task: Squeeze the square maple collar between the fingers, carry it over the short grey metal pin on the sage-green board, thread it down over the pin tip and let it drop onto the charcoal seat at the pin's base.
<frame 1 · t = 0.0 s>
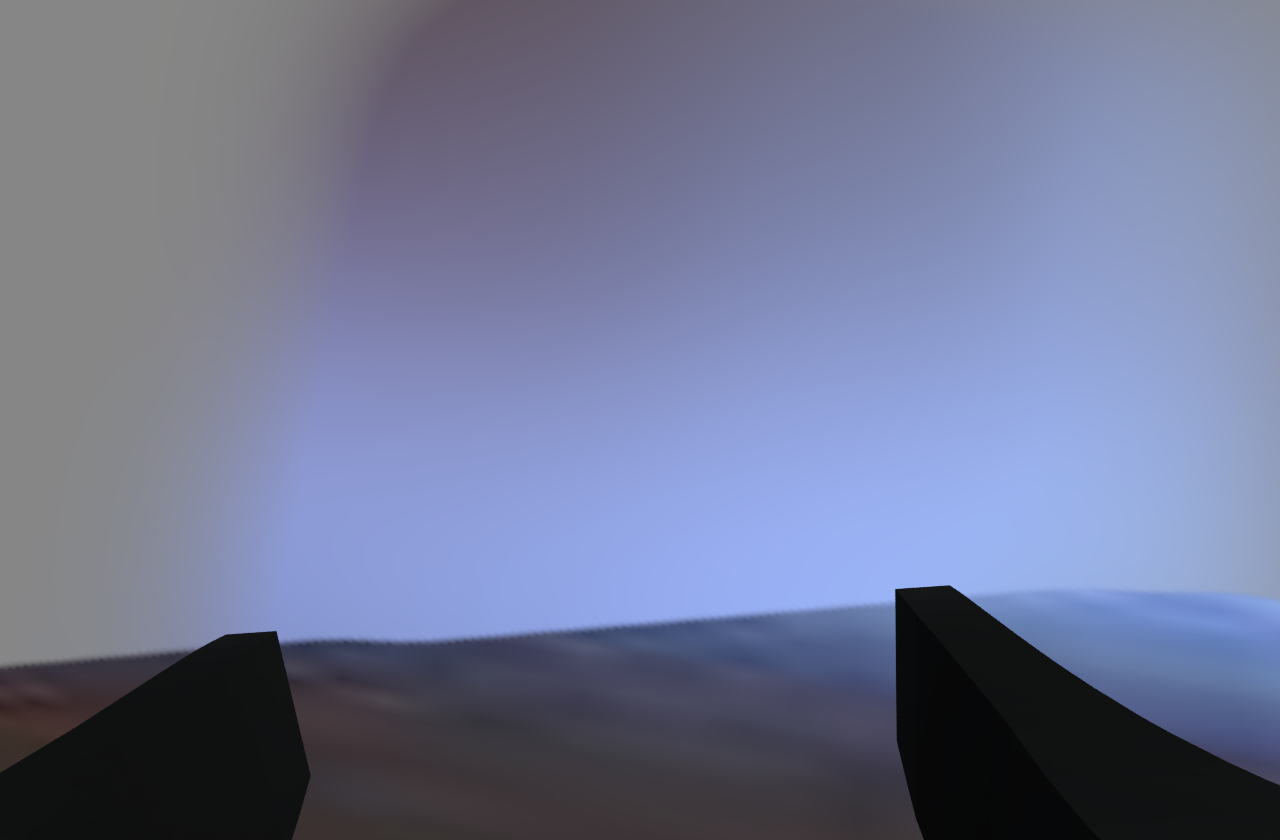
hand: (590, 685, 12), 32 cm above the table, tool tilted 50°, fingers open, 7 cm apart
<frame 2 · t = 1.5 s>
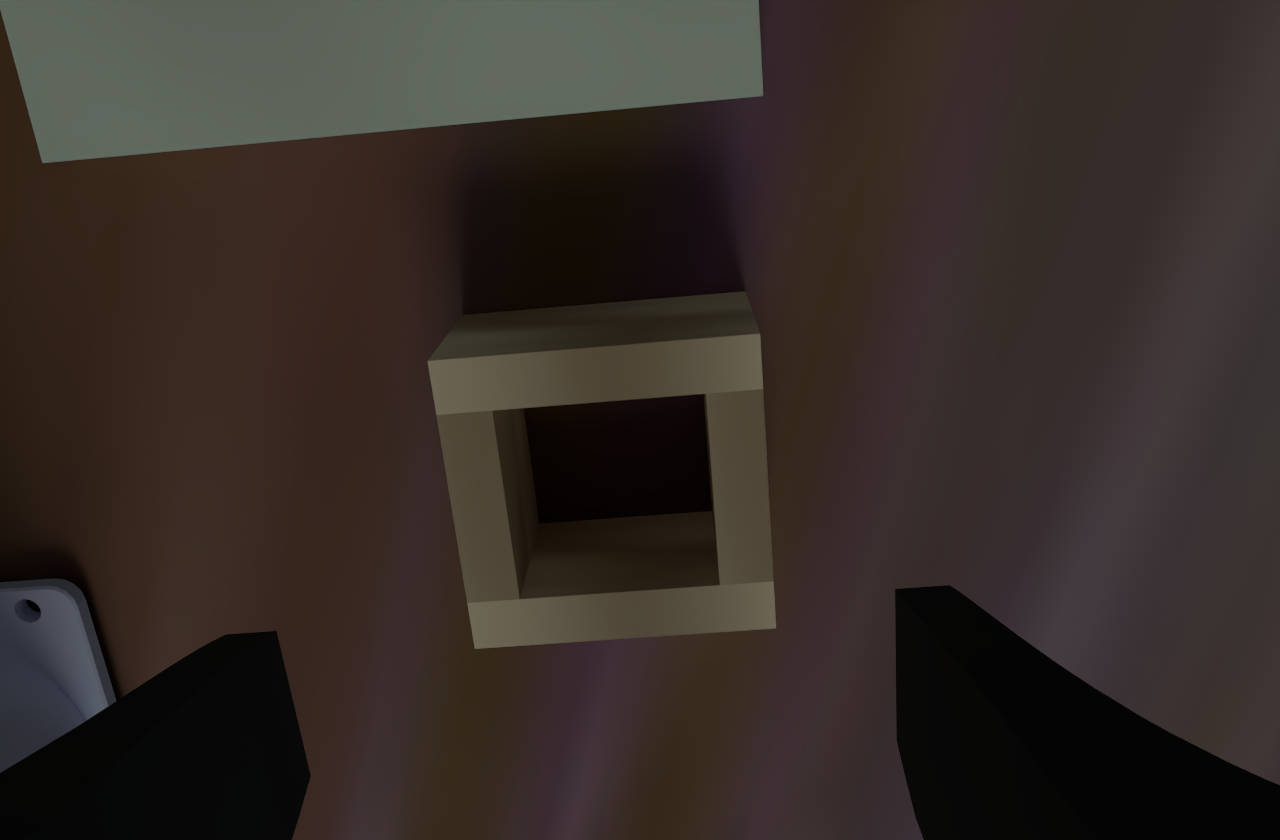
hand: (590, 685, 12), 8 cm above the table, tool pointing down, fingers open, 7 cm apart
collar: (616, 436, 20), on the table
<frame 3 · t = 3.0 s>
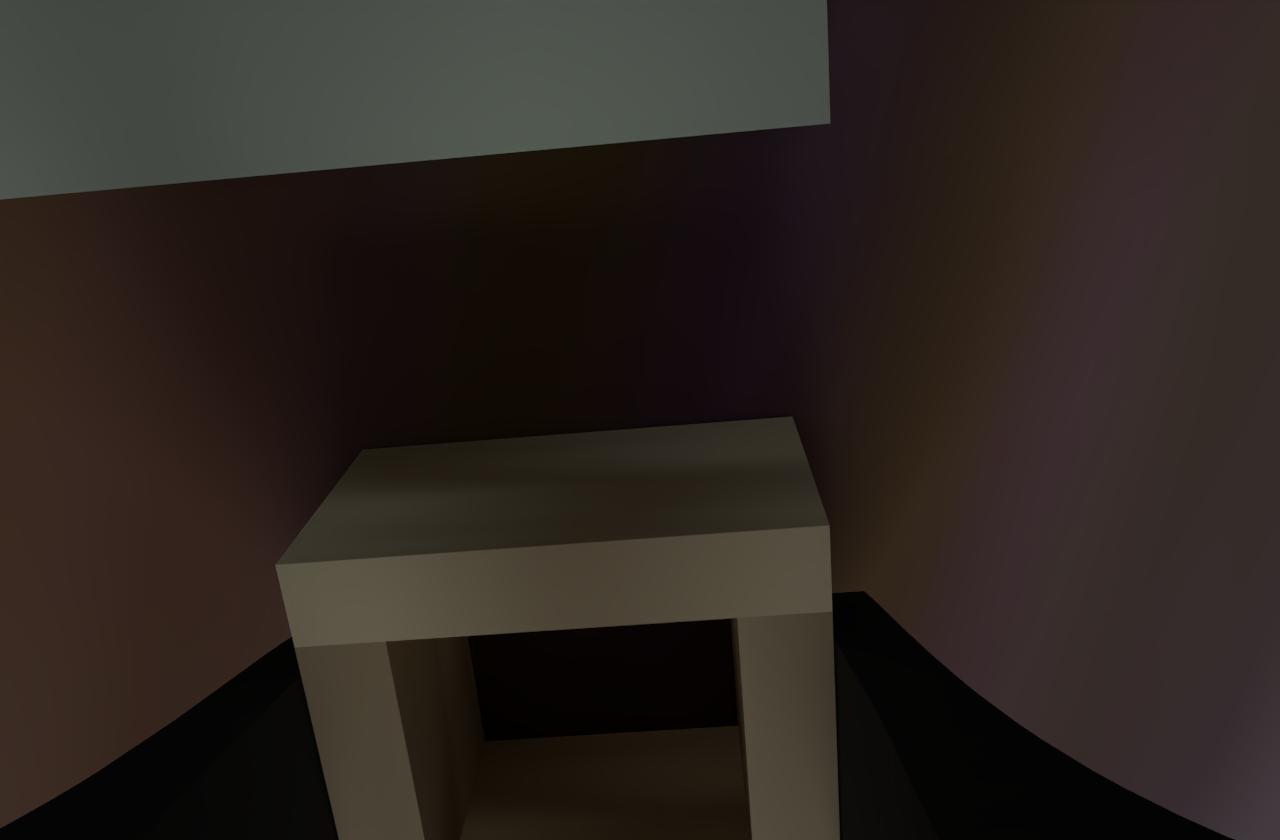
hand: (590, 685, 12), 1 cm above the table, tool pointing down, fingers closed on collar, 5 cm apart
collar: (597, 622, 13), on the table, touching gripper
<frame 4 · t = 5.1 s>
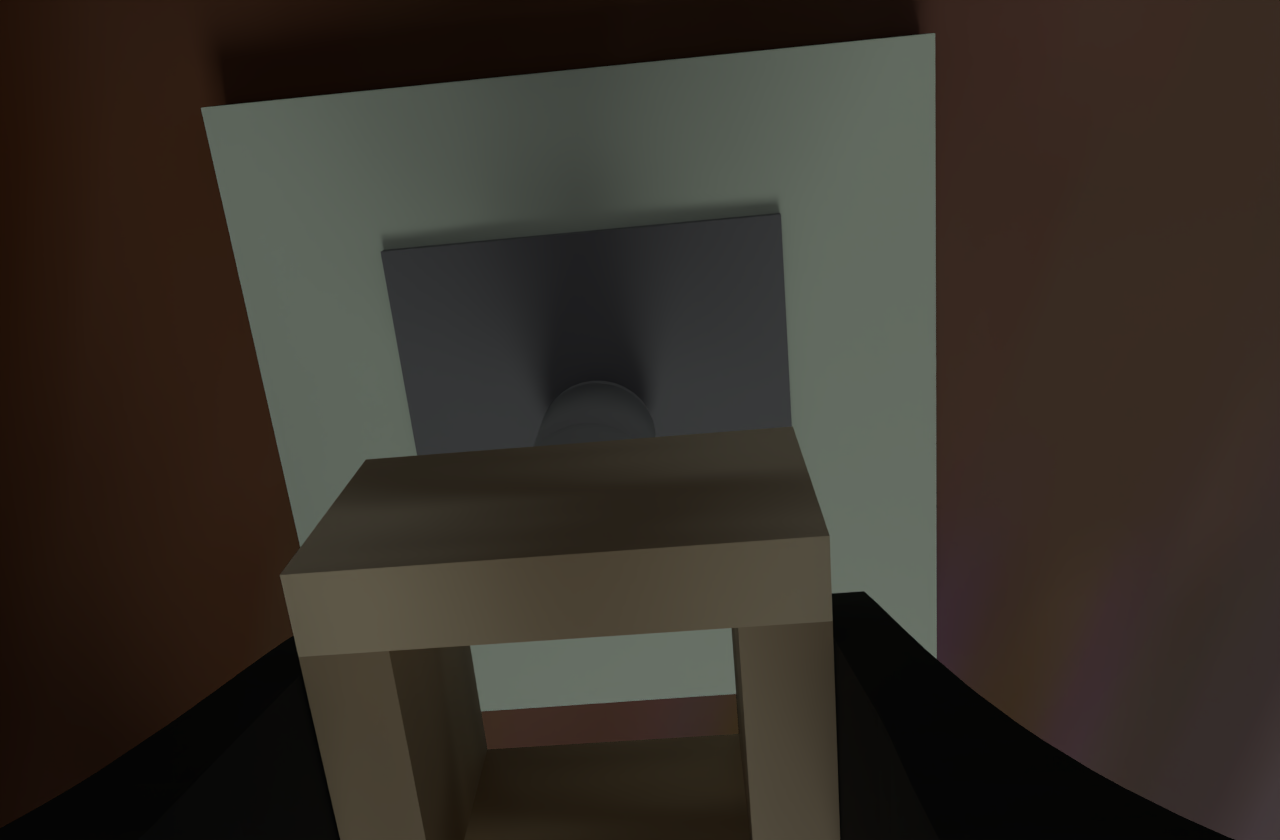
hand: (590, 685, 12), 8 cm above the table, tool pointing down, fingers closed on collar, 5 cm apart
collar: (599, 631, 13), point 7 cm above the table, touching gripper
pin board: (604, 401, 20), on the table
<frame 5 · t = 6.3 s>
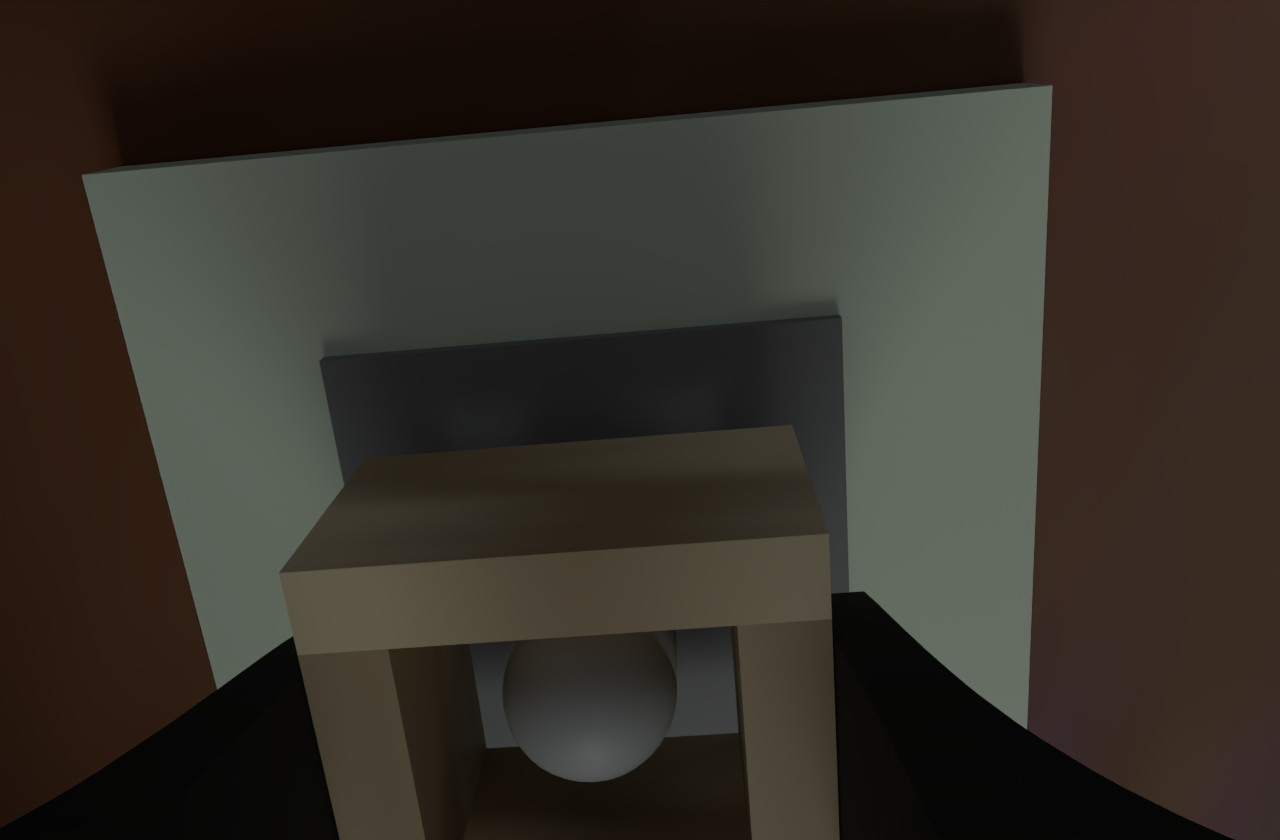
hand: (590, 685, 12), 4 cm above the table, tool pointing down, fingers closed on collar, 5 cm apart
collar: (598, 629, 13), point 2 cm above the table, touching gripper
pin board: (608, 536, 16), on the table
when the fingers open (4 cm above the table, at t = 7.1 s): collar drops 1 cm, resting on pin board.
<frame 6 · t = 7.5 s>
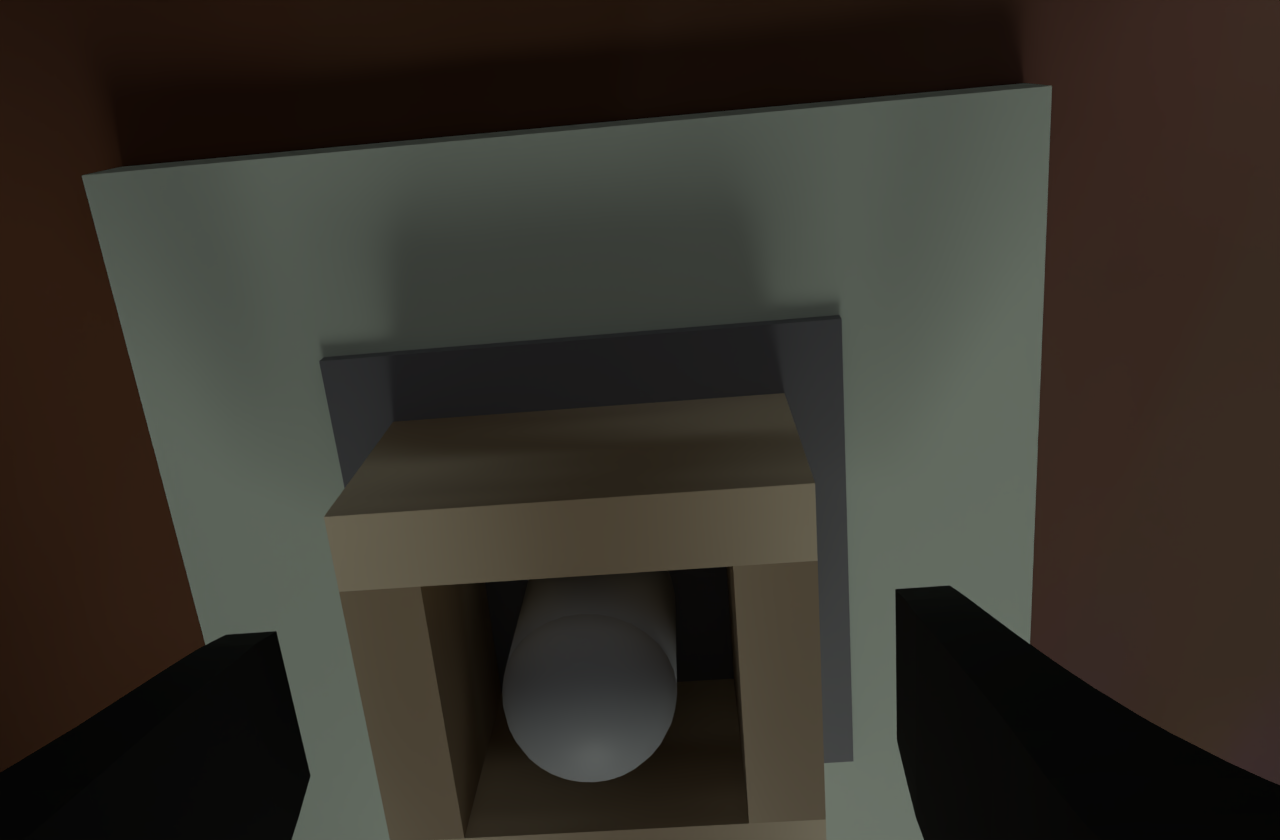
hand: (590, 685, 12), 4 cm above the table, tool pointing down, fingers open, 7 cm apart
collar: (605, 582, 15), point 1 cm above the table, touching pin board
pin board: (608, 536, 16), on the table
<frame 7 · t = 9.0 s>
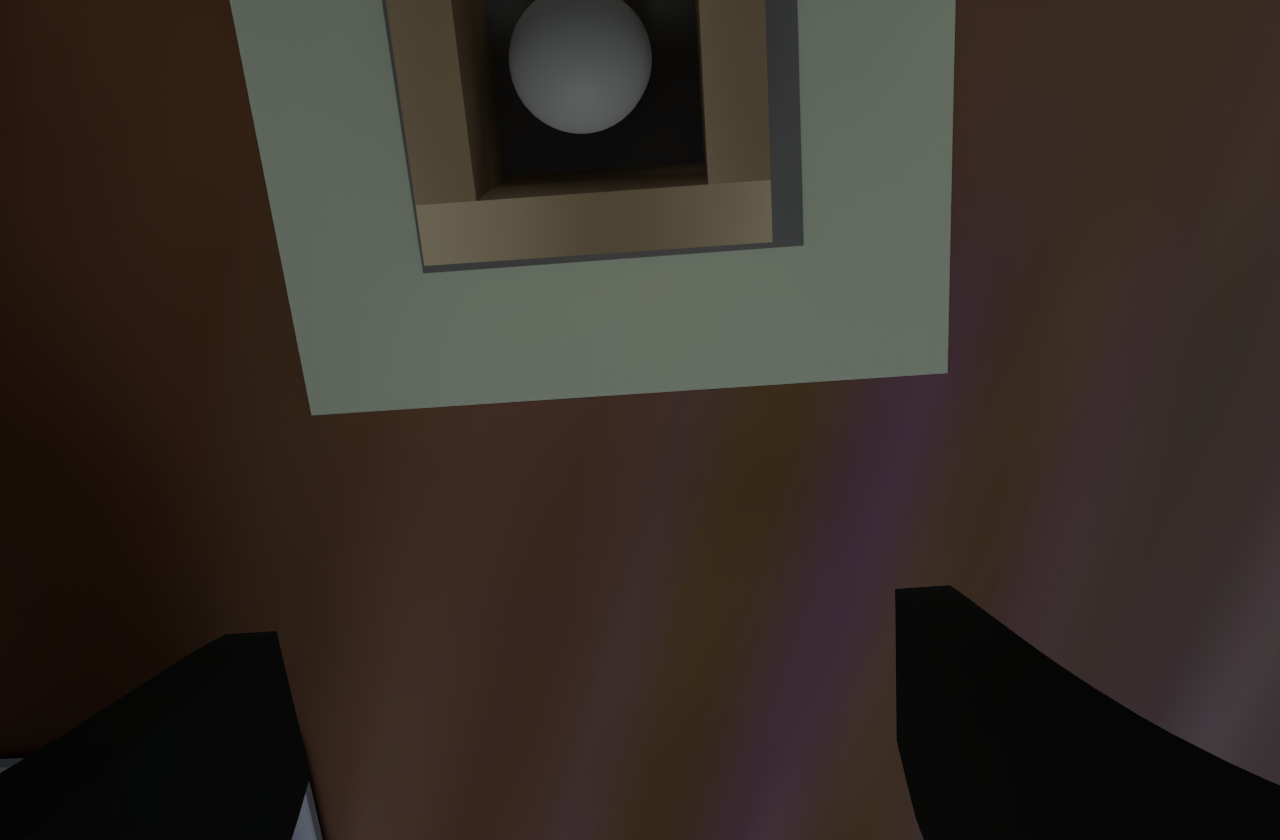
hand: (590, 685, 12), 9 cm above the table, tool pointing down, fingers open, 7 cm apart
collar: (595, 65, 17), point 1 cm above the table, touching pin board
pin board: (598, 56, 19), on the table
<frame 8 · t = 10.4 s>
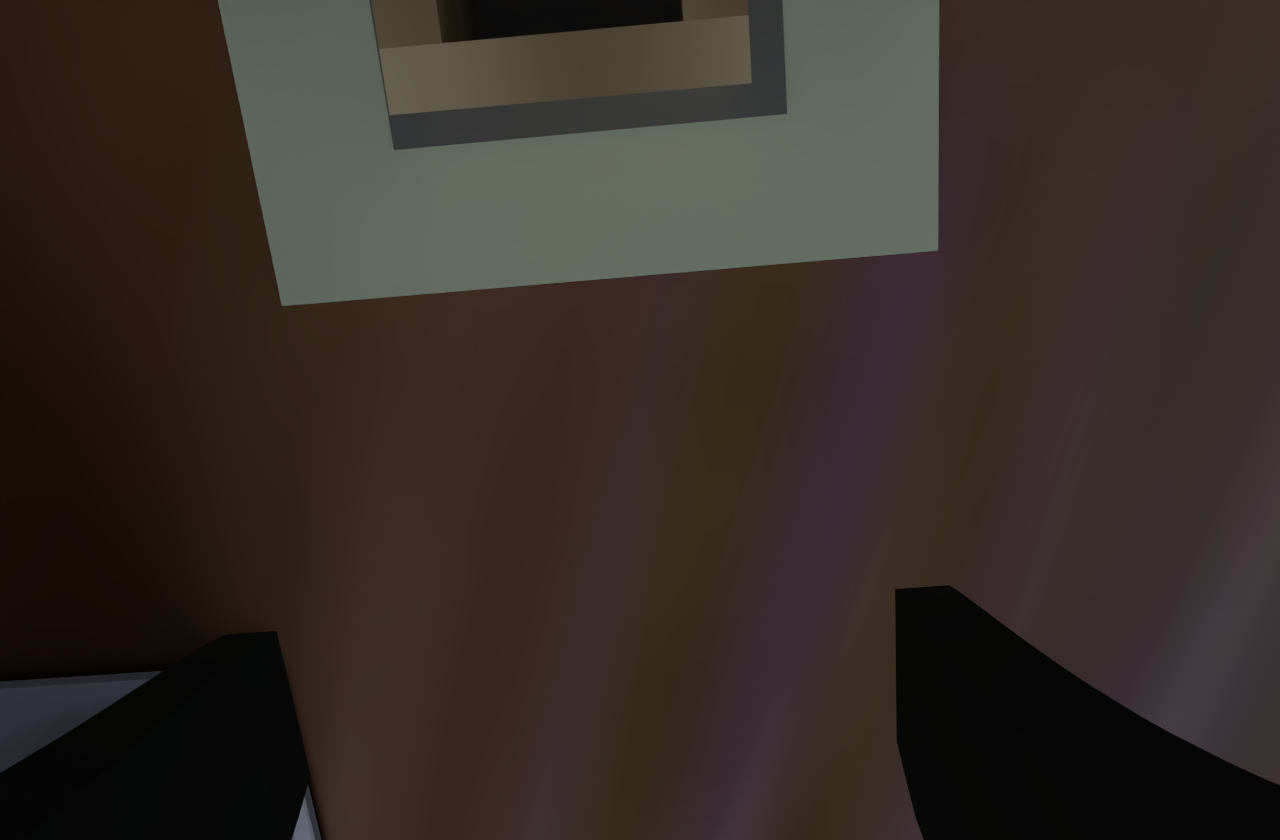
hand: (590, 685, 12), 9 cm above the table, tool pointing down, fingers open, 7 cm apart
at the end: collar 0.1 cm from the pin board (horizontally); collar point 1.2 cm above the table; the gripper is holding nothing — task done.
